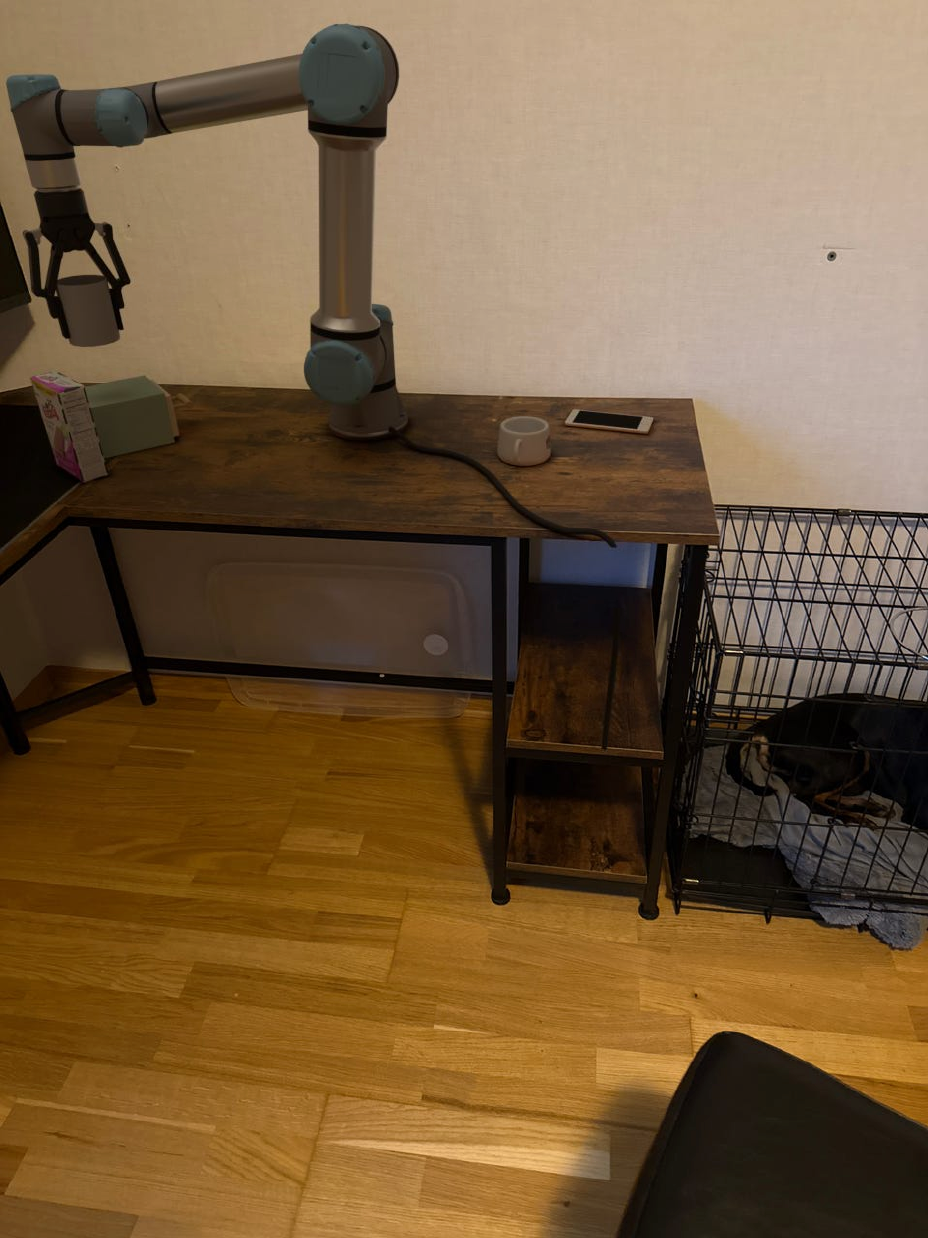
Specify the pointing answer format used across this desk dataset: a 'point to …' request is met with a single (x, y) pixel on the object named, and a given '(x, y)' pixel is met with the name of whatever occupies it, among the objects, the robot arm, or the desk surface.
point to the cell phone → (609, 421)
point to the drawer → (169, 399)
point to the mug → (524, 441)
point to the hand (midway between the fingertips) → (93, 332)
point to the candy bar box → (69, 425)
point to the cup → (88, 310)
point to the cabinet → (129, 415)
